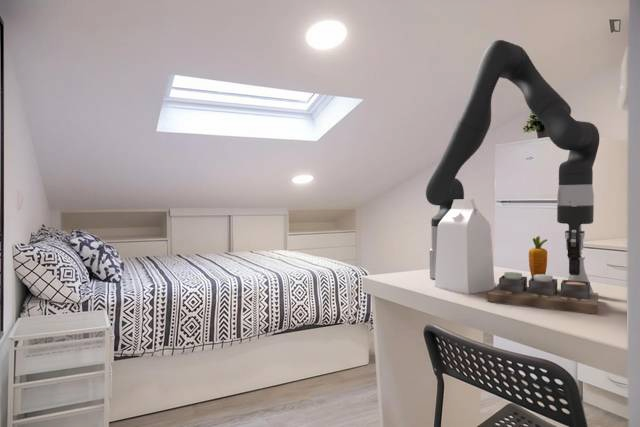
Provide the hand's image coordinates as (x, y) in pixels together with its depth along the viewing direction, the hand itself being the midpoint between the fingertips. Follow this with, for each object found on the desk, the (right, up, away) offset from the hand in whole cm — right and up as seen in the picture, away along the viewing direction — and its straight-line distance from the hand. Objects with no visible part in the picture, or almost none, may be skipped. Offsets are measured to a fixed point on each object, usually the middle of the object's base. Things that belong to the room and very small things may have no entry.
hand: (574, 274), depth 100 cm
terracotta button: (0, -4, 0) cm, 4 cm away
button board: (-7, -7, +2) cm, 10 cm away
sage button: (-11, -3, +8) cm, 14 cm away
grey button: (-6, -3, +4) cm, 7 cm away
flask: (+7, -7, +10) cm, 14 cm away
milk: (-20, -7, +20) cm, 29 cm away
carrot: (+1, -7, +19) cm, 20 cm away
